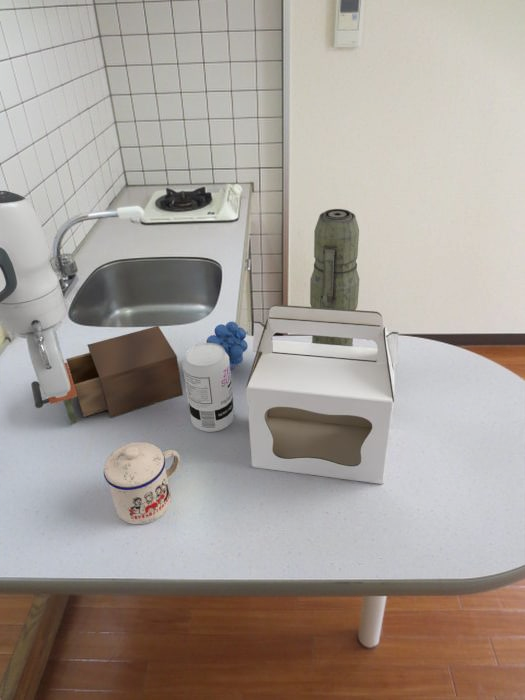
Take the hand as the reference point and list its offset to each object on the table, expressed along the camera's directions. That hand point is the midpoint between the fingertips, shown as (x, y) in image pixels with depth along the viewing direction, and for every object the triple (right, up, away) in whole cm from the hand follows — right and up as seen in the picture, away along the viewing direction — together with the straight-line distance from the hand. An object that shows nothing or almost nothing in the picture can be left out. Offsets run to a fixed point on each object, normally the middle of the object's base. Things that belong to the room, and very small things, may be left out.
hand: (58, 384), depth 81 cm
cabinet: (+6, -3, +27) cm, 28 cm away
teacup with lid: (+14, -19, +3) cm, 23 cm away
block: (0, -1, +1) cm, 2 cm away
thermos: (+46, -1, +27) cm, 53 cm away
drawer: (-3, -5, +23) cm, 24 cm away
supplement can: (+22, -8, +18) cm, 30 cm away
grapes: (+25, 0, +30) cm, 39 cm away
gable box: (+42, -12, +11) cm, 45 cm away
